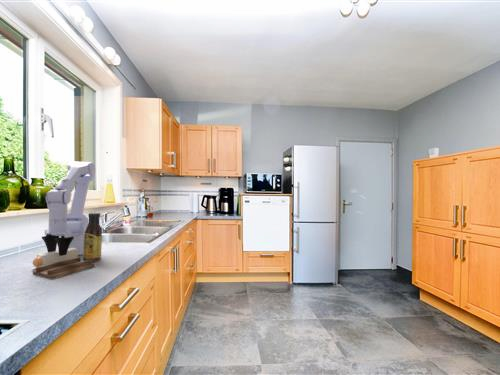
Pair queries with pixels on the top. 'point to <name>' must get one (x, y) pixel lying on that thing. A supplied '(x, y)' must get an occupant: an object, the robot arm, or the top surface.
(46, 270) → the jig
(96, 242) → the sauce bottle
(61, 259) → the white post with dome
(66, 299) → the top surface
